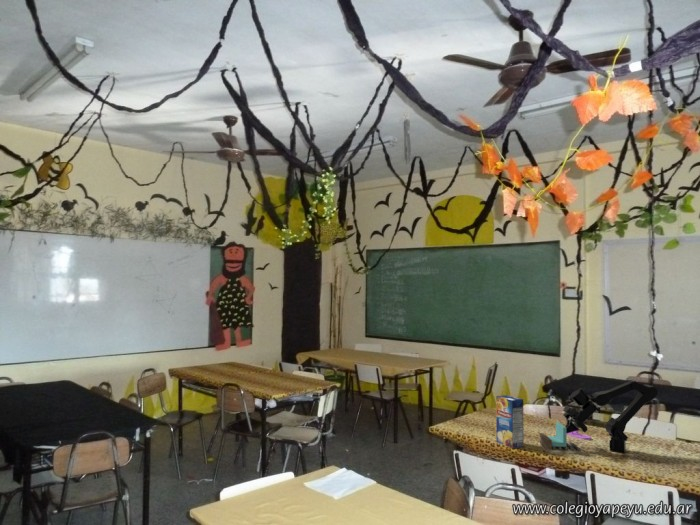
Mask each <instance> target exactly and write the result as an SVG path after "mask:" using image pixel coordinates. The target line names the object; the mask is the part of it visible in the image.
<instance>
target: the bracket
mask: <svg viewBox="0 0 700 525" xmlns="http://www.w3.org/2000/svg"><path fill="white" fill-rule="evenodd" d="M568 435H569V436H568ZM566 436H568V437H571V438H575V437H576V438H575V439H579V438H580V440H582V439H584V440H583V441H591V440H592V437H591V435H587V434H585V433H584V434H583V433H580V432H579V430H578V431H574V432H570V433H567V434H566Z"/></svg>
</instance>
